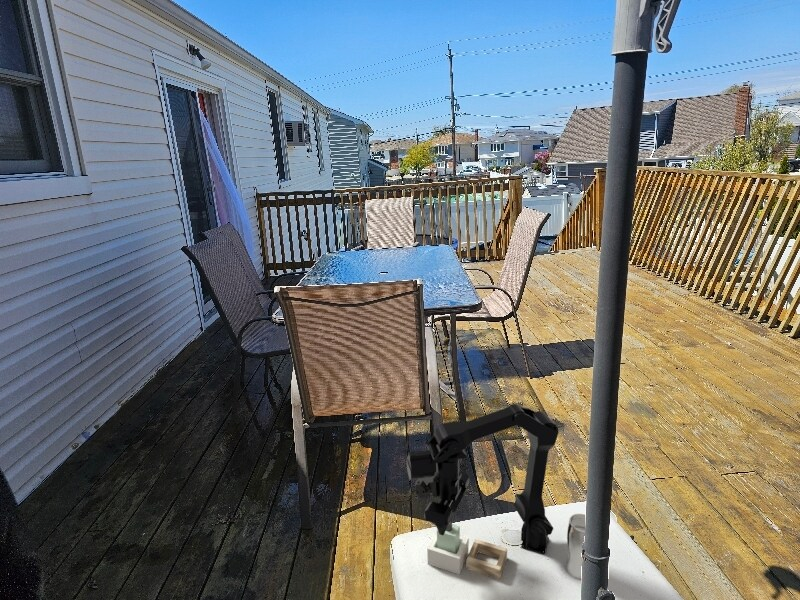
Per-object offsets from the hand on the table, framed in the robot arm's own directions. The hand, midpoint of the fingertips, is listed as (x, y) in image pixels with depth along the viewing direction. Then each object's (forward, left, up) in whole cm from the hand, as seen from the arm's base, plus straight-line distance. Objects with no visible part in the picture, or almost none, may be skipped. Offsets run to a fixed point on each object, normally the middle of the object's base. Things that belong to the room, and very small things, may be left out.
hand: (447, 522), depth 133 cm
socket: (0, 0, -12) cm, 12 cm away
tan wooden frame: (-10, -3, -12) cm, 16 cm away
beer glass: (-33, -10, -12) cm, 36 cm away
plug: (0, 0, -10) cm, 10 cm away
